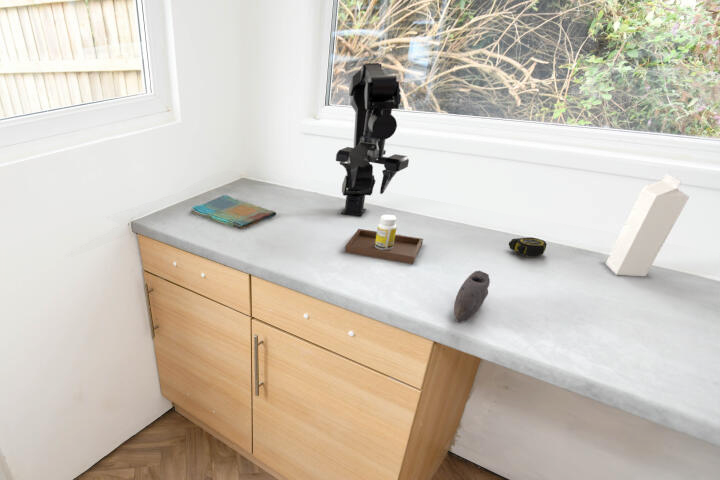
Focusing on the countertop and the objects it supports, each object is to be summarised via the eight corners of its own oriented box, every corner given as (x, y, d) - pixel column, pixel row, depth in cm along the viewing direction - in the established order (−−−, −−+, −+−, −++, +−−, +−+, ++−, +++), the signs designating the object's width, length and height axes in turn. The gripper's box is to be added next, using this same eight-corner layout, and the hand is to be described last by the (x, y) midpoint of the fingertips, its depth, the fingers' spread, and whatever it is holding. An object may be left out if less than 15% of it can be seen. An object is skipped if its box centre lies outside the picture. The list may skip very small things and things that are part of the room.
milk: (615, 275, 111) (663, 181, 98) (605, 263, 116) (649, 172, 103) (646, 276, 110) (698, 181, 97) (634, 265, 115) (682, 173, 102)
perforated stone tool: (468, 331, 95) (478, 302, 91) (441, 323, 98) (449, 294, 94) (487, 300, 104) (497, 272, 100) (462, 294, 107) (471, 266, 103)
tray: (357, 235, 137) (358, 228, 135) (421, 245, 129) (423, 238, 128) (344, 252, 128) (345, 245, 127) (412, 264, 120) (414, 256, 119)
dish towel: (226, 200, 167) (225, 193, 165) (277, 215, 152) (277, 208, 151) (189, 213, 157) (189, 206, 156) (240, 231, 143) (240, 223, 141)
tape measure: (531, 247, 125) (536, 234, 123) (548, 258, 119) (554, 245, 117) (506, 249, 125) (510, 236, 123) (522, 260, 119) (527, 247, 117)
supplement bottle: (390, 243, 130) (396, 213, 125) (394, 250, 126) (400, 220, 121) (372, 243, 130) (377, 213, 125) (376, 250, 126) (381, 220, 122)
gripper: (327, 132, 124) (321, 191, 133) (394, 141, 113) (383, 205, 122) (350, 125, 131) (343, 181, 140) (415, 132, 119) (403, 194, 128)
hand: (366, 190), depth 132 cm, fingers open, 9 cm apart
